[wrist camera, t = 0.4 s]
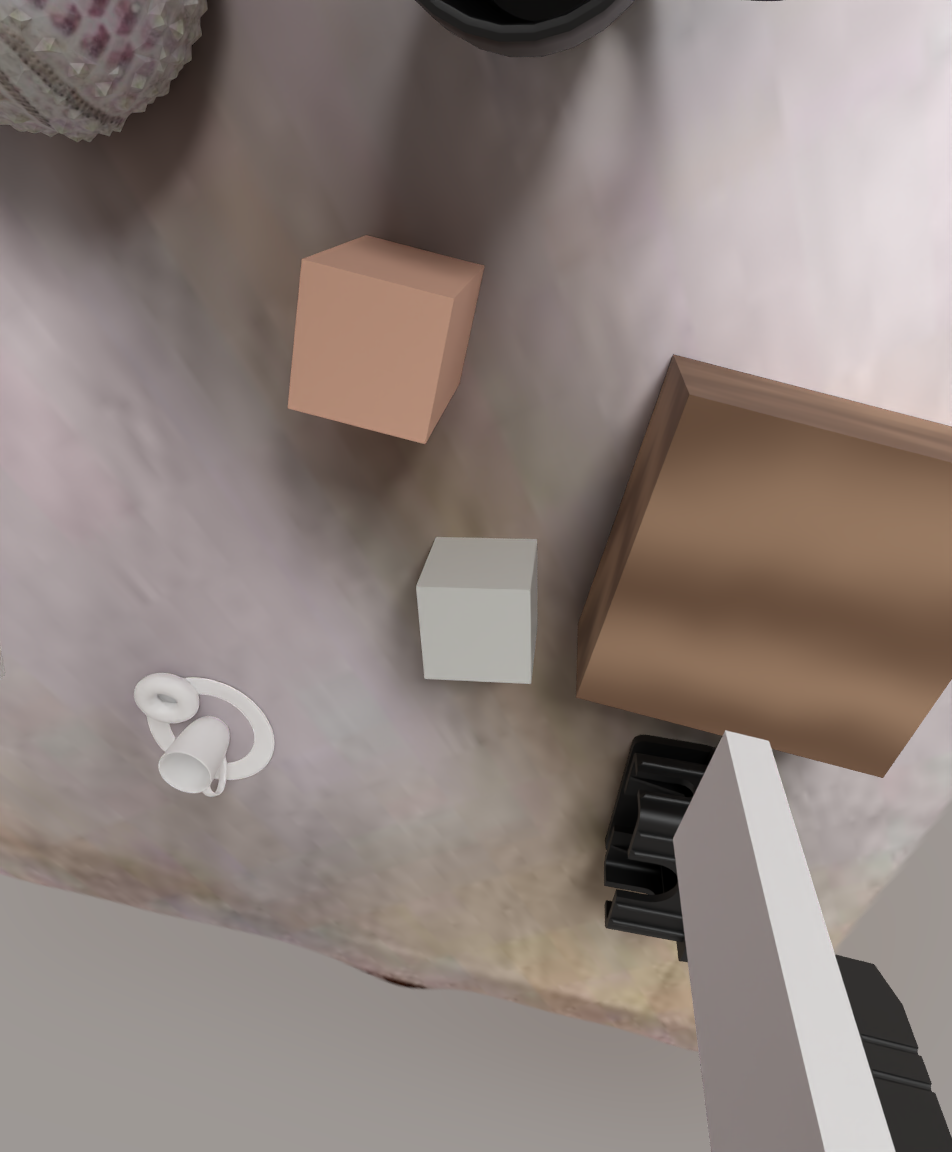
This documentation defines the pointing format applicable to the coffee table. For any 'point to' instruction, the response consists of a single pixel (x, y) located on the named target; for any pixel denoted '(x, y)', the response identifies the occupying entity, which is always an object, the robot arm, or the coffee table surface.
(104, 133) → the sea urchin shell
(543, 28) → the mug
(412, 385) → the terracotta block
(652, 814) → the end cap
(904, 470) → the walnut block
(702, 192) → the coffee table surface
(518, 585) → the grey cube
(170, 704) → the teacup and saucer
